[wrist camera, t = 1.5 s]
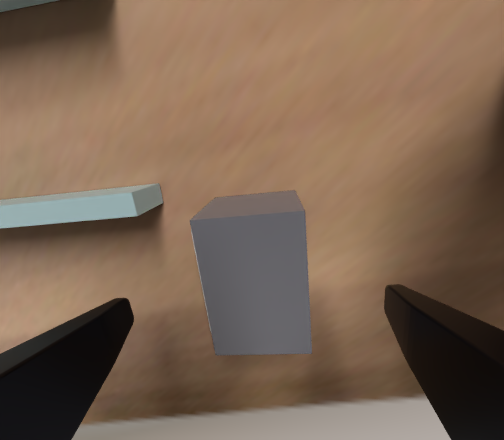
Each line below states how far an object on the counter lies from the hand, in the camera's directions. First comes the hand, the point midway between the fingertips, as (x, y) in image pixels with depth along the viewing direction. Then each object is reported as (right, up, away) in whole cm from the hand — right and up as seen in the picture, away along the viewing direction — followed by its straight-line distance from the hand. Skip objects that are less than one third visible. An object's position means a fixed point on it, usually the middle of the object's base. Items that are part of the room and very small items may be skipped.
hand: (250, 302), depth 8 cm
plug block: (+1, +1, +5) cm, 5 cm away
